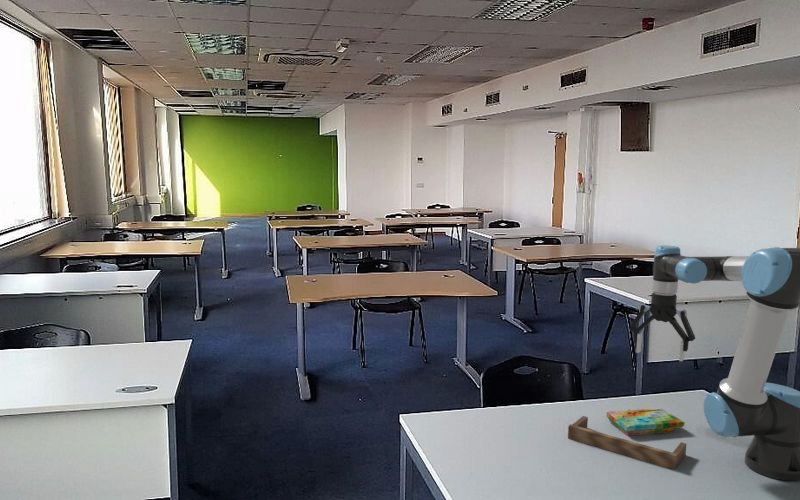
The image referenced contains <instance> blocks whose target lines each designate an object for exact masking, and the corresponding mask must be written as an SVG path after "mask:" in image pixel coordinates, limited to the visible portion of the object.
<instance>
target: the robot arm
mask: <svg viewBox="0 0 800 500" xmlns="http://www.w3.org/2000/svg"><path fill="white" fill-rule="evenodd" d="M654 250H655V252H654V257H653V273H652V277H653V278H652V290H651V291H652V293H651V299H650V300H651V301H650V305H647V304H645V303H643V304H642V305H641V306H640V307H639V312H638V313H637V315H636V316H635V319H634V320H633V321H632V323H631V324H630V326H629V327H628V329H629V331H632V332H633V333H634V334H633V335H634V336H633V341H634V343H636V351H635V354H636V353H637V354H640V353H641V352H642V343H643V332H641V331H642V330H644V328H646V327H647V326H648V325H649V324H650V323H651V322H652V321H654V320H656V321H657V322H663V323H670V325H671V326H672V327H673V329H674V330H675V331H676V333H677V334H678V335H679V337H680V338H681V339H682V340H681V341H680V344H679V345H680V346H679V347H680V348H679V358H678V361H679V362H683V361H684V359H685V352H687V351H688V350H689V342H693V341H694V340H696V335H695V334H694V331H693V329H692V326H691V324H690V322H689V320H688V317H687V315H688V314H687V310H686V309H683V310H679V309H678V310H677V300H678V299H677V298H678V295H677V293H678V286H679V281H681V282H683V283H685V284H686V283H687V284H699V283H701V282H709V281H710V282H711V281H712V282H713V281H714V282H715V281H717V282H718V281H719V282H720V281H722V282H741V283H742V284H741V285H742V286H743V288H744V289H745V291H746V295H745V296H746V297H748V300H750V303H749V306H748V310H747V314H746V316H745V317H746V318H745V321H744V324H743V327H742V331H741V333H740V336H739V341H738V344H737V347H736V351H735V353H734V356H733V360H732V362H731V366H730V370H729V374H728V375H727V377H726V378H723V379H722V380H721V381H719V385H718V388H717V391H716V392H713V391H712V392H710V393H708V394H707V395H705V397H704V399H703V406H702V407H703V413H704V417H705V420H706V422H707V423H708V426H709V427H710V429H711V430H712V431H713V432H714V433H716V434H717V435H718V436H720V437H722V438H723V437H724V438H726V437H727V438H729V437H731V438H737V437H738V438H739V437H750V436H752V440H751V442H750V443H749V445H748V447H747V448H746V451H745V454H744V464H745V465H746V466H747V468H749V469H751V470H752V471H753V472H756V473H757V472H758V473H757V474H760V475H762V476H765V477H768V478H771V479H776V480H780V479H781V480H780V481H787V480H798V481H800V391H799V390H797V389H795V388H792V387H790V386H786V385H781V384H778V383H774V382H772V383H771V382H767V380H768V377H769V374H770V371H771V368H772V364H773V361H774V359H775V356H776V353H777V349H778V346H779V343H780V340H781V337H782V335H783V331H784V328H785V326H786V322H787V318H788V316H789V313H790V312H792V311H794V310H797V309H798V308H799V306H800V247H779V246H776V247H775V246H773V247H769V248H759V249H757V250H756V251H753V252H752V253H751V254H750V255H747V256H745V255H743V256H741V255H740V256H739V255H738V256H737V255H735V256H734V255H726V256H685V255H682V254H681V248H680V247H679V246H676V245H664V244H663V245H658V246H656V247H655V249H654ZM648 311H649V312H650V314H651V315H650V316H649V317H647V319H645V320H644V321H643V322H642V323H641V324H640V325H639V326H638V327H637V325H638V324H639V323H640V321H641V319H642V318H643V316H644V314H646V312H648ZM676 315H677V316H678V317H679V318H680V321H681V323H682V325H683V328H684V329H683V328H682V327H681V325H680V323H679V322H678V320H677V318H676V317H675V316H676Z"/></svg>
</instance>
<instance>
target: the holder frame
mask: <svg viewBox="0 0 800 500" xmlns="http://www.w3.org/2000/svg"><path fill="white" fill-rule="evenodd" d="M588 421H589V417H588V416H585V415H583V416H581V417H580V418H578V419H577V420H576V421H575V422H573V423H572V424H571V423H570V424H569V425H568V427H567V428H568V431H567V439H569V440H572V441H576V442H579V443H583V444H586V445H589V446H593V447H596V448H598V449H599V448H600V449H604V450H607V451H611V452H613V453H617V454H620V455H623V456H628V457H630V458H633V459H637V460H640V461H644V462H646V463H651V464H654V465H658V466H660V467H663V468H666V469H671V470H674V471H675V470H676V469H677V468H678V466H679V464H680V463H681V462H682V460H683V459H684V458H685V457H686V456H687V444H688V443H686V442H683V441H682V442H680V443H679V444H678V445H677V446H676V448H675V449H674V450H673V451H672V452H671V451H668V450H664V449H660V448H657V447H653V446H649V445H646V444H642V443H638V442H634V441H631V440H629V439H624V438H621V437H617V436H614V435H610V434H607V433H603V432H601V431H596V430H592V429H589V428H588Z"/></svg>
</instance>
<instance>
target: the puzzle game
mask: <svg viewBox="0 0 800 500" xmlns="http://www.w3.org/2000/svg"><path fill="white" fill-rule="evenodd" d="M606 418H607V419H608V420H609V422H610V424H611V425H612V426H613V427H615V428H616V429H617V428H618V430H619V432H621V433H623V434H624V435H626V436H627V437H629V436H630V437H631V436H632V437H633V436H643V435H652V434H653V435H654V434H666V433H671V432H672V431H673V430H674V428H675V429H676V428H682V427H685V421H684V420H682V419H680V418H678V417H676V416H675V415H674V414H672V413H670V412H669V411H667V410H665V409H663V407H660V408H659V407H657V408H643V409H642V408H641V409H627V410H611V411H607V412H606Z"/></svg>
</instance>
